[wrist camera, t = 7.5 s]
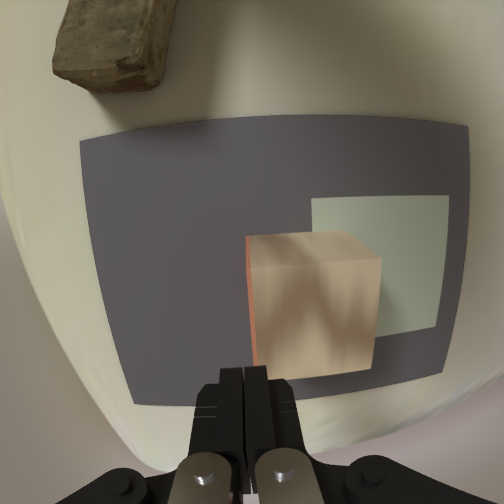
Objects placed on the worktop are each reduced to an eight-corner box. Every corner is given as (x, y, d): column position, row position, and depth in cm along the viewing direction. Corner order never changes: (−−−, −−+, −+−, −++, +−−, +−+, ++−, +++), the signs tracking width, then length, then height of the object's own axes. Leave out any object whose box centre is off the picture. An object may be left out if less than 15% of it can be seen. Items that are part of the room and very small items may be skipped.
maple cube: (245, 268, 14) (382, 258, 14) (245, 236, 19) (343, 229, 19) (254, 382, 15) (370, 368, 15) (252, 325, 21) (341, 317, 21)
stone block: (191, -47, 14) (180, -88, 9) (166, 95, 17) (142, 75, 13) (114, -38, 14) (89, -71, 9) (83, 99, 17) (42, 87, 12)
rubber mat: (81, 141, 18) (79, 141, 17) (465, 126, 18) (467, 126, 17) (135, 401, 23) (134, 404, 23) (440, 370, 23) (442, 372, 23)
